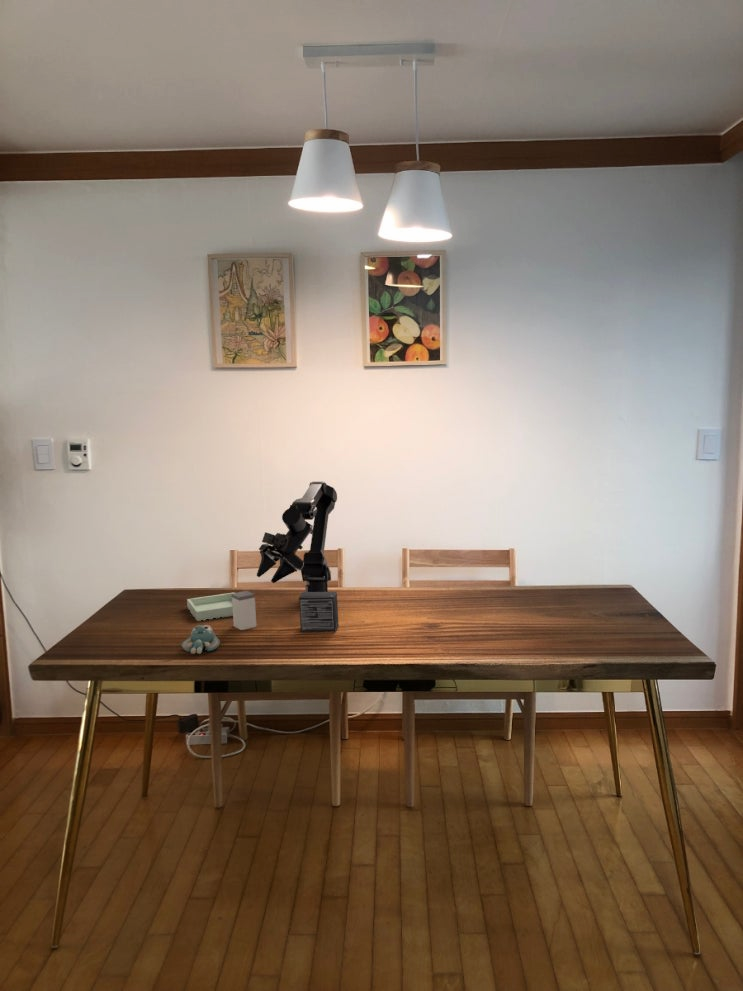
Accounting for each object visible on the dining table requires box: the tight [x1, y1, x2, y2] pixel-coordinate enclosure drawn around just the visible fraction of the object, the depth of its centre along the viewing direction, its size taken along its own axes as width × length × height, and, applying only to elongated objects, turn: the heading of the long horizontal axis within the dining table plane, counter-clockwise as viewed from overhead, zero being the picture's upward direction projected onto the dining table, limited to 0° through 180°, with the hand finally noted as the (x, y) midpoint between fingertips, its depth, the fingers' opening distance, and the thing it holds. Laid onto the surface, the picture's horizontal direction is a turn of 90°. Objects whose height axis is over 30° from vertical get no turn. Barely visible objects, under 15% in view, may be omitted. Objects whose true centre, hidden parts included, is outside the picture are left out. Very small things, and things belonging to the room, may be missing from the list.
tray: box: [186, 592, 236, 622], centre depth 255 cm, size 16×16×3 cm
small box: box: [298, 591, 340, 633], centre depth 233 cm, size 11×6×10 cm, turn 84°
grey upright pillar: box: [232, 590, 257, 631], centre depth 238 cm, size 5×5×10 cm
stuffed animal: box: [181, 624, 221, 655], centre depth 220 cm, size 11×7×12 cm
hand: (264, 579), depth 241 cm, fingers open, 9 cm apart
